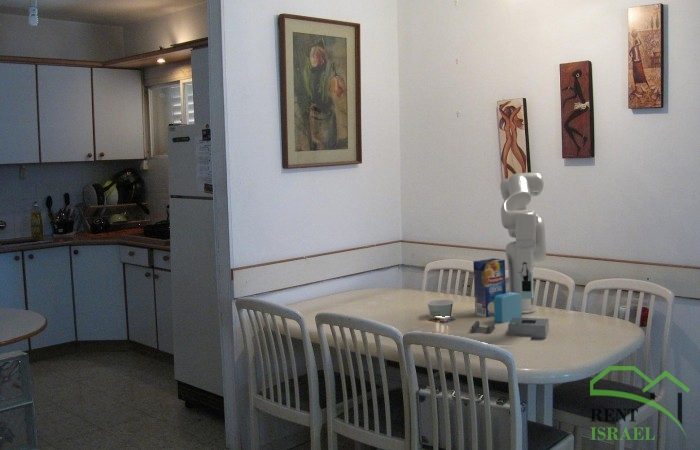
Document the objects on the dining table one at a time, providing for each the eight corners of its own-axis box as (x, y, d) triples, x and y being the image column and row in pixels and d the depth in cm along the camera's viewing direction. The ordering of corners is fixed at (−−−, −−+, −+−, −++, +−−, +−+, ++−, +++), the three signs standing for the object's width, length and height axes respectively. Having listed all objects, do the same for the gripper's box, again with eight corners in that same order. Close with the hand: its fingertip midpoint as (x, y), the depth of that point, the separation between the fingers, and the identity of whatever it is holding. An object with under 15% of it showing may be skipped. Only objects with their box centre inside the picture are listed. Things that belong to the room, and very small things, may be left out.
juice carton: (486, 317, 320) (484, 263, 318) (475, 314, 326) (473, 261, 324) (506, 312, 326) (504, 259, 324) (495, 310, 333) (493, 258, 330)
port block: (513, 329, 295) (512, 316, 295) (548, 331, 290) (548, 317, 290) (508, 337, 284) (508, 323, 284) (545, 338, 279) (545, 324, 278)
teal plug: (523, 296, 288) (522, 269, 287) (533, 296, 287) (532, 269, 286) (521, 298, 284) (520, 271, 284) (532, 298, 283) (531, 271, 282)
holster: (475, 329, 300) (475, 320, 299) (495, 329, 297) (495, 321, 296) (471, 335, 290) (470, 326, 290) (491, 335, 288) (490, 327, 287)
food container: (423, 318, 324) (422, 304, 323) (433, 312, 335) (432, 298, 334) (448, 320, 318) (448, 305, 318) (458, 314, 329) (457, 300, 328)
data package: (513, 319, 314) (512, 291, 313) (521, 320, 310) (521, 292, 309) (494, 324, 307) (493, 295, 306) (502, 325, 303) (501, 297, 302)
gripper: (519, 241, 293) (520, 286, 294) (512, 246, 277) (514, 294, 279) (538, 240, 290) (539, 286, 292) (533, 246, 275) (534, 294, 276)
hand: (527, 289), depth 285 cm, fingers closed on teal plug, 4 cm apart
